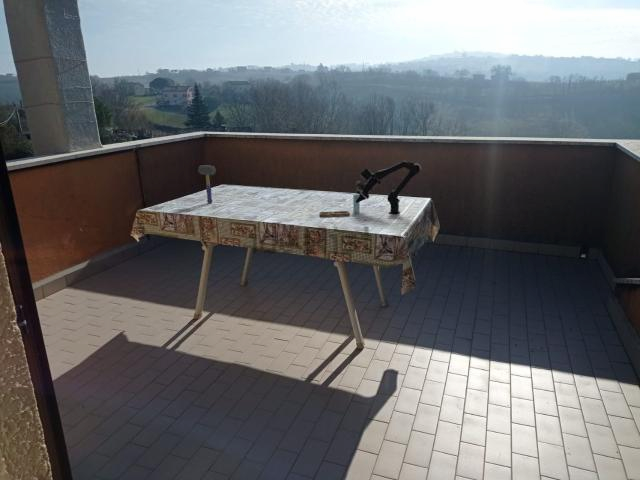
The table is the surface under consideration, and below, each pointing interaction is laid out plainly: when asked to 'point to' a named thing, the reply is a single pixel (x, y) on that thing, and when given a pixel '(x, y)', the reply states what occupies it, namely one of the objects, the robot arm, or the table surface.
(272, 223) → the table surface
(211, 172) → the rubber mallet
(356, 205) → the teal board
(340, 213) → the walnut rack
